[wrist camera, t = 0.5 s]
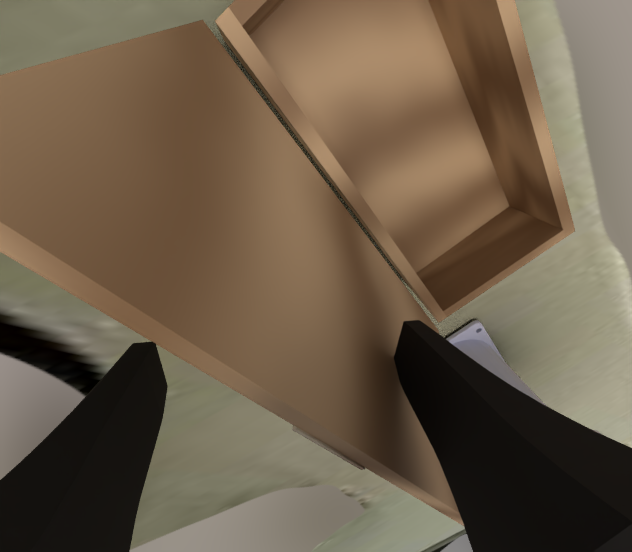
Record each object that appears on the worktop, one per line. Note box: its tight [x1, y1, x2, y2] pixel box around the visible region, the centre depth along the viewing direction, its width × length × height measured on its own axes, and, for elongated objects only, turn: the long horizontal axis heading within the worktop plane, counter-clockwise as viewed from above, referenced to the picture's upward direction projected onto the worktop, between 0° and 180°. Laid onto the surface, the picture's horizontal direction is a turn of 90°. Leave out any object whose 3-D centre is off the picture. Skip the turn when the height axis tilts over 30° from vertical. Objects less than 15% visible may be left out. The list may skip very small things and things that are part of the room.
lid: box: [0, 20, 464, 526], centre depth 11 cm, size 18×10×1 cm
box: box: [215, 0, 575, 322], centre depth 16 cm, size 18×9×5 cm, turn 38°
